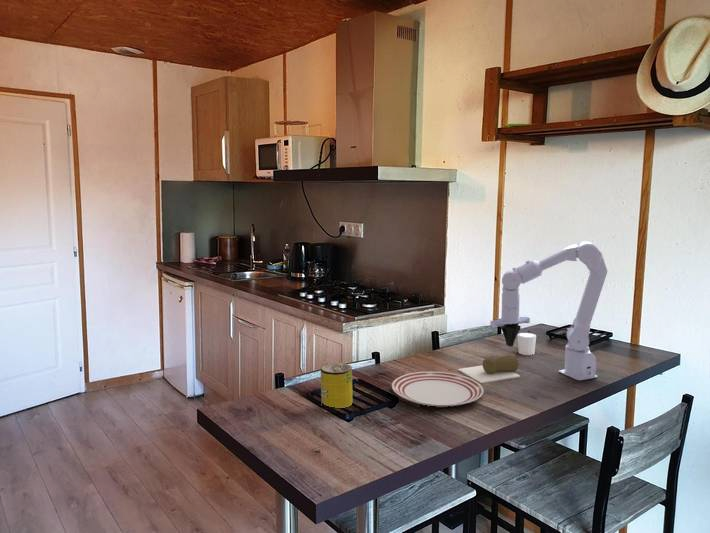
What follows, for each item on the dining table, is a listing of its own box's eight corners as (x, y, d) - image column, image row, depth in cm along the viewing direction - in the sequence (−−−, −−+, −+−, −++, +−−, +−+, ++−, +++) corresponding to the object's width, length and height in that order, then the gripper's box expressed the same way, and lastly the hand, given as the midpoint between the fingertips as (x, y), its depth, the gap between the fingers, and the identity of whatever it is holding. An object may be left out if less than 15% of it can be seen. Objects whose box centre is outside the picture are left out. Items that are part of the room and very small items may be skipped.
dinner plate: (485, 383, 176) (485, 373, 176) (481, 418, 150) (481, 406, 150) (401, 377, 183) (401, 367, 183) (383, 409, 157) (382, 398, 157)
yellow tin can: (346, 399, 165) (345, 361, 163) (357, 410, 156) (356, 370, 155) (317, 404, 162) (316, 365, 160) (327, 416, 153) (326, 374, 152)
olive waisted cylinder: (515, 351, 184) (487, 355, 181) (520, 369, 183) (492, 374, 179) (505, 355, 190) (478, 359, 186) (510, 372, 188) (482, 376, 184)
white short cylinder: (513, 351, 209) (513, 333, 208) (528, 349, 211) (529, 331, 210) (523, 356, 202) (524, 338, 201) (539, 354, 204) (540, 336, 203)
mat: (520, 377, 180) (520, 375, 180) (481, 383, 175) (481, 382, 175) (495, 364, 194) (495, 363, 193) (458, 370, 188) (458, 368, 188)
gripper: (521, 302, 191) (520, 340, 193) (485, 306, 187) (484, 345, 188) (534, 306, 185) (533, 345, 187) (497, 310, 180) (496, 350, 182)
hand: (509, 345), depth 187 cm, fingers closed
